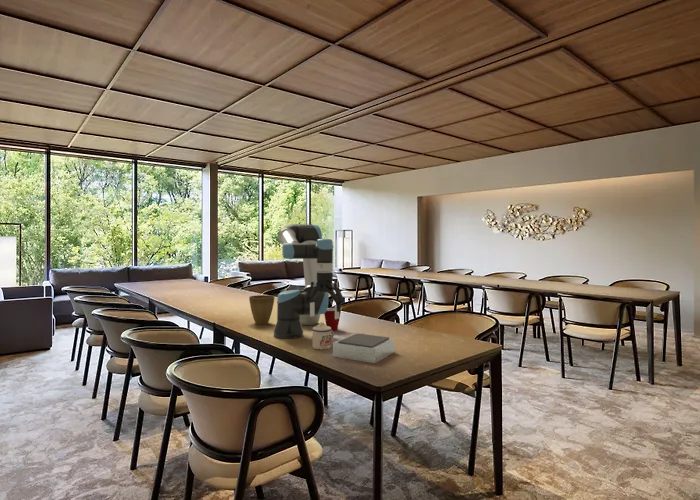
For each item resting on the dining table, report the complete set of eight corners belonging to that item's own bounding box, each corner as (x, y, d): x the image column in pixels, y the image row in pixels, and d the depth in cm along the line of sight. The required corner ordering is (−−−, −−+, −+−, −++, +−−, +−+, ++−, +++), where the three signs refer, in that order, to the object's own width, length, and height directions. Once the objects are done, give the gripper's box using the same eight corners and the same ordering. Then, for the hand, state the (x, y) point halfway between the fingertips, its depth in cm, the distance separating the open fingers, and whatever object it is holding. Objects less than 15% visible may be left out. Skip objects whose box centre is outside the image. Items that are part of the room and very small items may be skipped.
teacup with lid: (321, 351, 192) (321, 325, 191) (307, 347, 198) (308, 322, 197) (339, 346, 200) (340, 321, 200) (326, 342, 206) (326, 319, 206)
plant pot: (279, 323, 253) (279, 296, 252) (258, 326, 242) (258, 298, 242) (264, 319, 263) (265, 294, 263) (244, 323, 252) (244, 296, 252)
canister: (328, 322, 257) (328, 287, 257) (313, 327, 241) (313, 290, 240) (302, 319, 265) (302, 286, 264) (286, 325, 248) (286, 289, 248)
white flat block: (332, 356, 183) (333, 341, 183) (359, 344, 205) (359, 330, 205) (375, 363, 173) (375, 347, 173) (398, 349, 195) (398, 335, 195)
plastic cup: (332, 326, 244) (332, 306, 244) (345, 329, 236) (345, 308, 236) (318, 329, 237) (318, 308, 236) (331, 332, 229) (331, 310, 229)
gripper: (298, 271, 201) (297, 316, 201) (344, 273, 189) (343, 321, 189) (307, 270, 207) (306, 314, 208) (352, 272, 195) (351, 318, 196)
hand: (324, 317), depth 198 cm, fingers open, 13 cm apart
